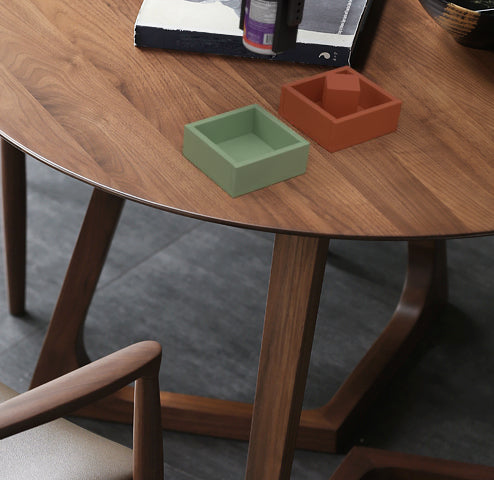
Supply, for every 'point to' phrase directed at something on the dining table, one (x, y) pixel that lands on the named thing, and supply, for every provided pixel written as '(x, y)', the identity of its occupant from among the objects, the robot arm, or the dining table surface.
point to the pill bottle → (259, 25)
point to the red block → (340, 94)
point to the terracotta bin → (346, 128)
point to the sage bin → (245, 149)
